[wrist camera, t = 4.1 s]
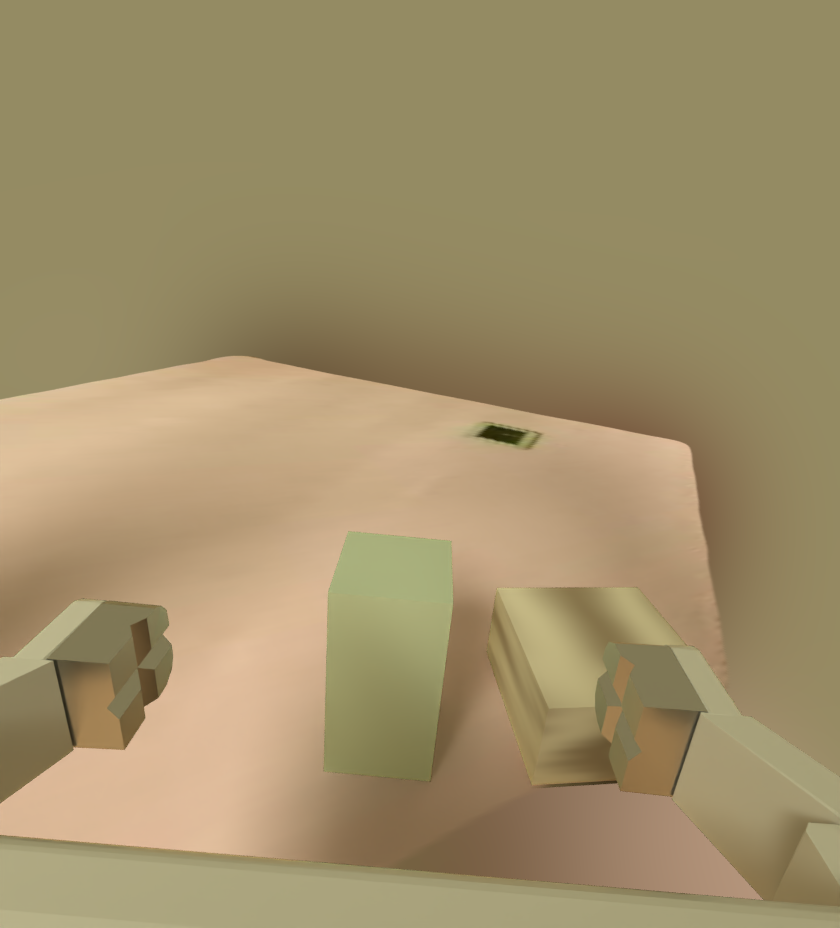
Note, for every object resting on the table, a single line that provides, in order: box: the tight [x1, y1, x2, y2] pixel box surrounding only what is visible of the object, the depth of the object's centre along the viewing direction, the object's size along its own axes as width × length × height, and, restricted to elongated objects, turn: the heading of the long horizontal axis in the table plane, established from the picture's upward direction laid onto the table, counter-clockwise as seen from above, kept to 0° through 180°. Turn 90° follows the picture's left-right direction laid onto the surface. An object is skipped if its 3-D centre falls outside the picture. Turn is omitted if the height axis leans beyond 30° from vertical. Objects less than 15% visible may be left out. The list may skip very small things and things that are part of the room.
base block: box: [487, 587, 734, 788], centre depth 29 cm, size 9×9×5 cm
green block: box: [324, 531, 453, 782], centre depth 25 cm, size 5×5×10 cm
